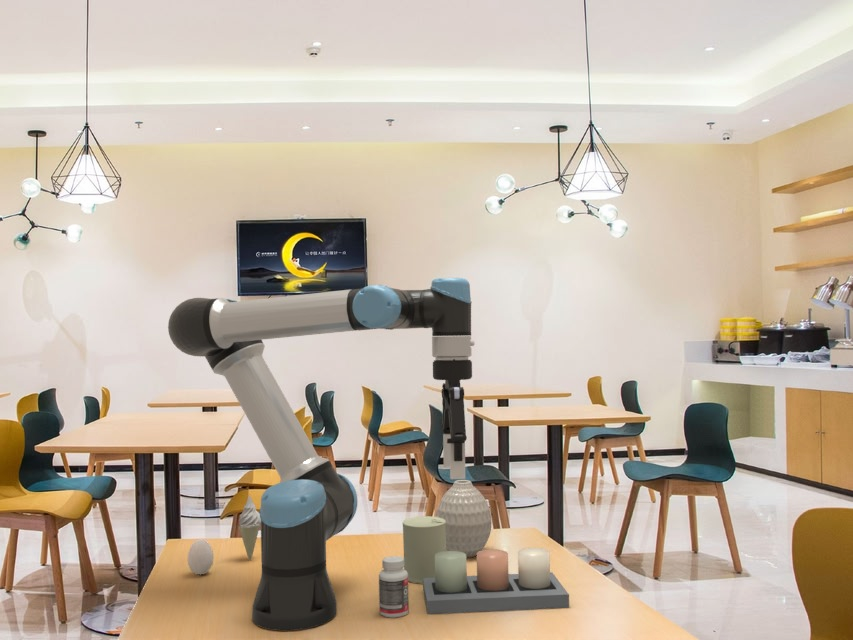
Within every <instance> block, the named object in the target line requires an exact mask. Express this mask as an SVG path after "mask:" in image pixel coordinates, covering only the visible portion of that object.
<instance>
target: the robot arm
mask: <svg viewBox="0 0 853 640" xmlns="http://www.w3.org/2000/svg"><path fill="white" fill-rule="evenodd" d="M430 284H431V286H430V288H427V289H398V288H392V287H390V286H389V287H388V286H387V285H383V284H372V285H367V286H364V287H361V288H356V289H344V290H334V291H325V292H324V291H323V292H316V293H305V294H296V295H287V296H277V297H269V298H257V299H251V300H240V301H237V300H233V299H229V298H224V297H218V298H206V297H193V298H189V299H186V300H184V301H182V302H181V303H179V304H178V305H177V306H176V307H175V308H174V309H173V310H172V312H171V314H170V316H169V319H168V325H167V328H168V335H169V337H170V340H171V342H172V343H173V345H174V346H175V348H177V349H178V350H179V351H180V352H182V353H183V354H186V355H189V356H193V357H204V358H205V359H206V361H207V363H208V365H209V367H210V368H211V370H212V371H213V374H216V375H220V376H223V377H224V378H225V380H226V381H227V383H228V386H229V387H230V389H231V391H232V392H233V395H234V396H235V398H236V399H237V402H238V404H239V405H240V407H241V409H242V411H243V412H244V414H245V417H246V418H247V420H248V422H249V423H250V425H251V427H252V429H253V431H254V432H255V433H256V436H257V437H258V439H259V441H260V443H261V445H262V447H263V448H264V450H265V452H266V454H267V456H268V458H269V459H270V462H271V463H272V465H273V466H274V468H275V471H276V472H277V473H278V476H279V478H280V479H279V482H278V483H275V484H273V485H271V486H269V487H267V488H266V490H264V492H263V493H262V494H261V499H260V508H259V513H260V518H261V523H260V524H261V525H260V551H261V552H260V553H261V554H260V555H261V575H260V580H259V582H258V586H257V590H256V593H255V596H254V600H253V603H252V608H251V609H252V610H251V611H252V622H253V623H254V625H256V626H258V627H259V628H263V629H267V630H272V631H297V630H305V629H310V628H314V627H317V626H318V627H319V626H320V625H323V624H325V623H328V622H330V621H332V620H333V619H334V618H335V617H336V615H337V613H338V610H337V609H338V605H337V604H338V603H337V601H338V600H337V597H336V594H335V591H334V588H333V585H332V583H331V580H330V577H329V573H328V570H327V541H328V540H330V539H331V538H333V537H334V536H335V535H338V534H339V533H340V532H343V531H344V530H345V529H346V527H347V526H349V524H350V523H351V522H352V520H353V519H354V518H355V515H356V512H357V508H358V495H357V491H356V489H355V486H354V484H353V483H352V482H351V481H350V479H348V477H346V476H345V475H344V474H343V475H342V474H340V473H338V472H337V471H336V469H335V467H334V465H333V464H332V462H331V461H330V459H329V458H327V457H322V456H320V455H318V453H317V451H316V449H315V447H314V446H313V444H312V442H311V440H310V438H309V437H308V435H307V432H305V429H304V428H303V426H302V424H301V422H300V421H299V419H298V417H297V415H296V414H295V412H294V410H293V408H292V407H291V405H290V403H289V402H288V399H287V397H285V394H284V392H283V391H282V389H281V387H280V386H279V384H278V382H277V380H276V378H275V377H274V375H273V373H272V371H271V370H270V368H269V365H268V363H267V362H266V361H265V359H264V356H263V353H264V350H265V344H264V342H263V340H270V339H271V340H272V339H282V338H283V339H284V338H291V337H303V336H312V335H315V336H316V335H323V334H325V335H326V334H334V333H344V332H346V333H347V332H354V331H355V332H356V331H367V330H379V329H380V330H400V329H401V330H402V329H405V330H406V329H408V330H409V329H429V328H430V329H431V331H432V332H431V333H432V337H431V353H432V354H431V356H432V357H433V358H435V360H433V361H432V378H433V379H434V380H436V381H444V382H443V383H442V388H441V399H442V400H441V401H442V403H441V404H442V414H441V415H442V420H441V421H442V422H441V423H442V424H441V428H442V432H443V434H442V437H443V438H442V441H443V442H442V445H443V446H442V447H443V450H442V451H443V452H442V453H443V456H442V457H443V468H449V478H450V480H466V443H465V442H466V441H467V432H466V431H467V430H466V429H467V428H466V417H465V401H464V400H465V399H464V397H465V389H464V387H463V386H461V380H463V381H464V380H465V381H468V380H471V379H472V378H473V361H472V360H471V359H469V358H470V357H471V356H472V347H474V346H475V341H474V340H472V300H471V299H472V298H471V287H470V286H471V285H470V282H469V281H468V279H466V278H463V277H441V278H439V277H438V278H434V279H432V280H431V283H430Z"/></svg>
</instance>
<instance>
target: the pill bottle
mask: <svg viewBox="0 0 853 640" xmlns="http://www.w3.org/2000/svg"><path fill="white" fill-rule="evenodd" d="M381 565H382V566H381V567H382V570H381V571H379V572H378V573H379V574H378V600H379V601H378V602H379V603H378V607H379V613H380V615H381V616H383V617H385V618H400V617H404V616H406V615H407V614H408V613H409V610H410V609H409V607H410V606H409V605H410V604H409V601H410V600H409V597H410V596H409V581H408V573H407V571H406V570H404V565H405V564H404V556H403V557H402V556H398V555H391V556H386V557H384V558H382V562H381Z"/></svg>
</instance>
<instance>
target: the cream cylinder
mask: <svg viewBox="0 0 853 640" xmlns="http://www.w3.org/2000/svg"><path fill="white" fill-rule="evenodd" d="M550 561H551V560H550V550H548V549H546V548H543V547H524V548H520V549H518V550H517V571H518V572H517V574H518V576H519V585H520V586H522V587H525V588H531V589H540V588H546V587H548V586H550V572H551V563H550Z"/></svg>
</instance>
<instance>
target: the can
mask: <svg viewBox="0 0 853 640" xmlns="http://www.w3.org/2000/svg"><path fill="white" fill-rule="evenodd" d="M402 539H403V540H402V542H403V558H404V564H405V565H404V567H403V569H404V570H406V571H407V573H408V583H413V584H421V585H423V578H435V554H437V553H439V552H443V551H447V550H446V521H445V520H444V519H443V518H439V517H436V516H429V515H427V516H425V515H424V516H423V515H422V516H413V517H408V518H405V519H404V520H403V521H402Z"/></svg>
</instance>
